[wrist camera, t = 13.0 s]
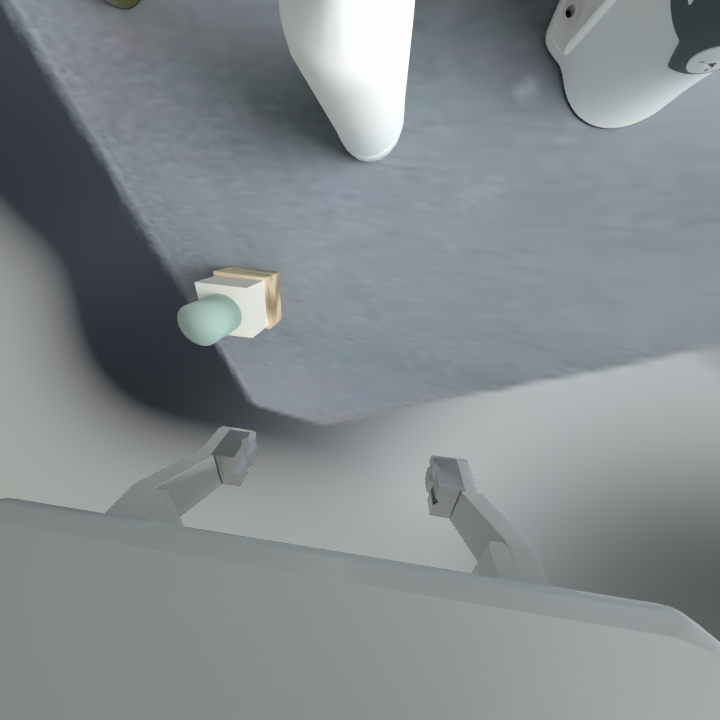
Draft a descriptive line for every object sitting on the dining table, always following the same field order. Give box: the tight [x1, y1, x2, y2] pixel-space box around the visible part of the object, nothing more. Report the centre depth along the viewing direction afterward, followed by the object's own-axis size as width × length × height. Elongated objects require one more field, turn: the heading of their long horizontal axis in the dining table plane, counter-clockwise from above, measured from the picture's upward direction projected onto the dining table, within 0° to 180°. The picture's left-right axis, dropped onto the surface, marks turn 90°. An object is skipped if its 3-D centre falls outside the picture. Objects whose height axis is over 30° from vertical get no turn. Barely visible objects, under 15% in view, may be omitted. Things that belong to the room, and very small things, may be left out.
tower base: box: [213, 266, 281, 329], centre depth 41 cm, size 8×8×5 cm
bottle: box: [279, 0, 415, 162], centre depth 18 cm, size 8×8×30 cm
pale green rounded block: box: [177, 294, 242, 346], centre depth 33 cm, size 5×5×5 cm
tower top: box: [195, 275, 268, 338], centre depth 37 cm, size 7×7×5 cm
